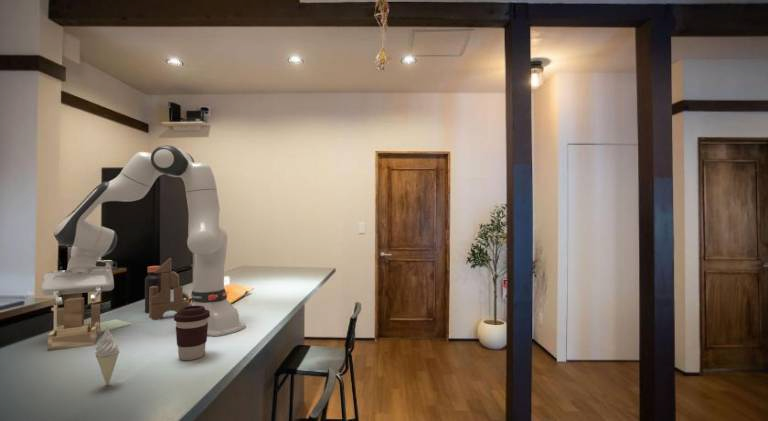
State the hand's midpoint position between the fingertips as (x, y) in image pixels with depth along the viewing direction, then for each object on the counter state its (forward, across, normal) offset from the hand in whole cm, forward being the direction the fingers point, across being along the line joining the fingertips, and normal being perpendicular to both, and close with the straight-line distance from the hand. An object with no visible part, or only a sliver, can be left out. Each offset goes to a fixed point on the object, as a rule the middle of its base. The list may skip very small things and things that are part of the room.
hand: (76, 301), depth 132 cm
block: (+7, 0, +3) cm, 8 cm away
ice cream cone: (+42, +15, -23) cm, 50 cm away
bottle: (-14, +22, +33) cm, 42 cm away
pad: (-1, +7, +20) cm, 22 cm away
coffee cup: (+34, +34, -15) cm, 50 cm away
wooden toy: (-5, +28, +24) cm, 37 cm away
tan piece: (+10, 0, +9) cm, 14 cm away
